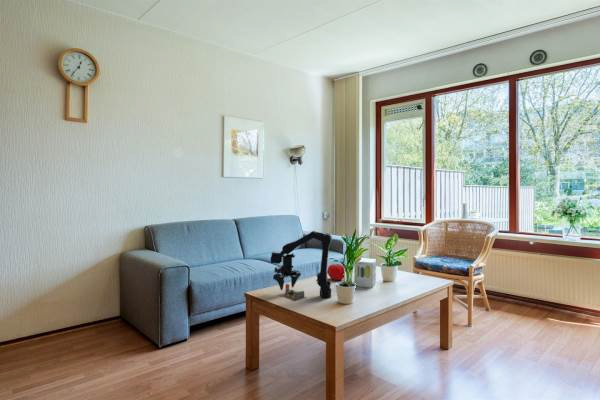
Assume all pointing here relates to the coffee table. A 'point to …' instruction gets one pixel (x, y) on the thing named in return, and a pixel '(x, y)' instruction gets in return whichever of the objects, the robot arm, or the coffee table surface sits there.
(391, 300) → the coffee table surface
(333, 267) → the tomato
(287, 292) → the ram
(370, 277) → the supplement box
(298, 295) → the beige mounting plate
